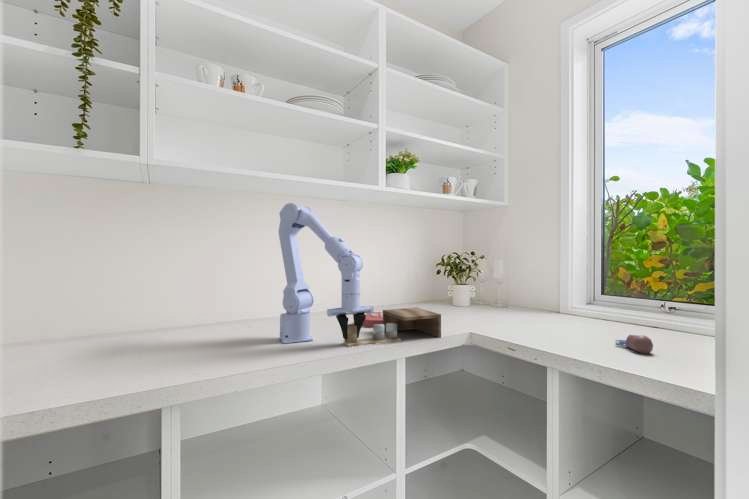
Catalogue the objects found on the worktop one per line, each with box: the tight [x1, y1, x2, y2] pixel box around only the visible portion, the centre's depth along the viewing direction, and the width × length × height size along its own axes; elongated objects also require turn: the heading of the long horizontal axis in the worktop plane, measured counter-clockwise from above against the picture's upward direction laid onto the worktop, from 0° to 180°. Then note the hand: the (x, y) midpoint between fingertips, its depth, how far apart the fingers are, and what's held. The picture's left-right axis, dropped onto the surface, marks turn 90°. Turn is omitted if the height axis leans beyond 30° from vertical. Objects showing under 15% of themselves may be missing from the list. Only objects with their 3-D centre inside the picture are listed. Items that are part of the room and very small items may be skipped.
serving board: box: [343, 323, 401, 348], centre depth 107 cm, size 18×5×6 cm, turn 113°
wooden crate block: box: [382, 307, 442, 339], centre depth 117 cm, size 14×16×8 cm
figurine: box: [614, 334, 654, 355], centre depth 99 cm, size 5×5×12 cm
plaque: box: [362, 311, 383, 329], centre depth 137 cm, size 18×4×15 cm
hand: (350, 337), depth 104 cm, fingers closed on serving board, 3 cm apart
